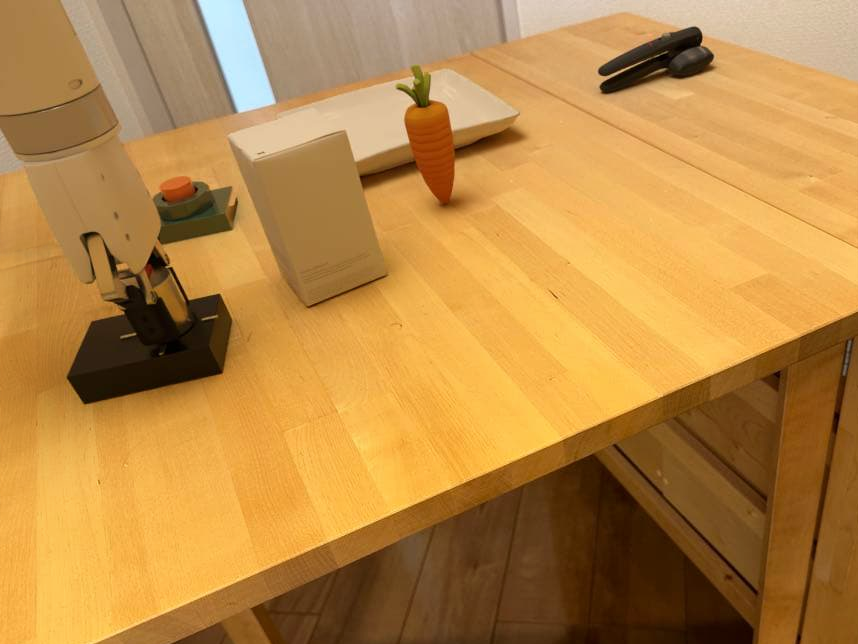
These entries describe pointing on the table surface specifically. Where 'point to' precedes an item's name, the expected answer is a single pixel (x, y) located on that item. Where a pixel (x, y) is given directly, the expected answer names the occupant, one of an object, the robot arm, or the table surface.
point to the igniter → (195, 214)
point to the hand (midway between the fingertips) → (167, 323)
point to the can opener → (658, 58)
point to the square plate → (385, 109)
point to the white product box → (310, 203)
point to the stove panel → (149, 354)
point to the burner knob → (167, 295)
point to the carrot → (430, 136)
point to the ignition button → (177, 189)
